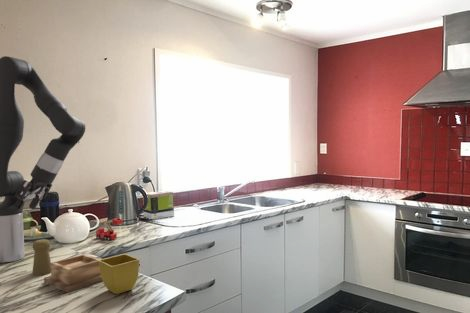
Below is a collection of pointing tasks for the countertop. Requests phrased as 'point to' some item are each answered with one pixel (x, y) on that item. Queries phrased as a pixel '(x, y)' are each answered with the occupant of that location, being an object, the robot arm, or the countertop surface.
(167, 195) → the tea box
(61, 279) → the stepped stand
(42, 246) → the cork
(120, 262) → the flower pot
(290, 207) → the countertop surface
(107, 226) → the toy fire truck
